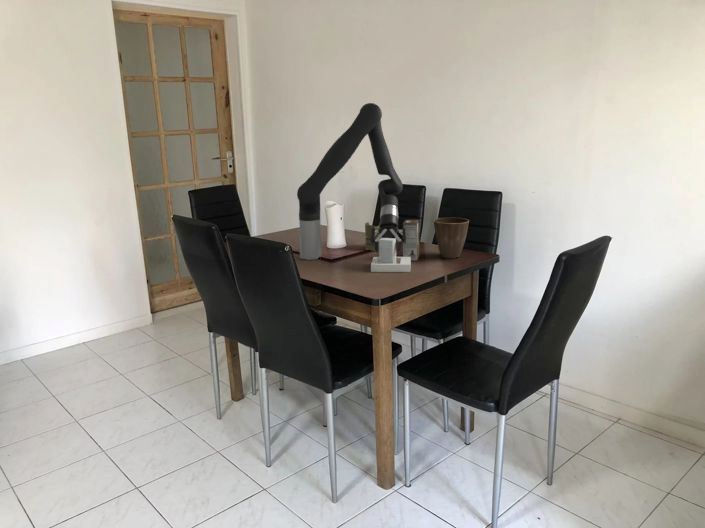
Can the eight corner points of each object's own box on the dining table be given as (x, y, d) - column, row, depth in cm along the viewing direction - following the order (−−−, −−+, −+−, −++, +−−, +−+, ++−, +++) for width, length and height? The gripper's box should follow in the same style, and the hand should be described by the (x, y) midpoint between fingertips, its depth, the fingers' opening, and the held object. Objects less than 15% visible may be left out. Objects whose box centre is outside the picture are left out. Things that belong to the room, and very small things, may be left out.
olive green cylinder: (362, 222, 263) (385, 220, 265) (362, 247, 266) (385, 245, 268) (368, 226, 252) (392, 224, 255) (369, 252, 255) (392, 250, 258)
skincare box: (396, 266, 228) (396, 238, 225) (393, 269, 224) (392, 240, 221) (382, 265, 231) (382, 237, 228) (379, 268, 227) (378, 239, 224)
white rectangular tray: (371, 271, 222) (370, 264, 221) (373, 263, 234) (373, 256, 234) (410, 272, 220) (410, 264, 219) (410, 263, 232) (410, 256, 232)
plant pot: (434, 252, 251) (434, 217, 247) (468, 252, 248) (469, 217, 244) (432, 260, 237) (432, 223, 233) (468, 261, 234) (468, 223, 230)
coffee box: (405, 255, 248) (404, 219, 244) (419, 255, 246) (419, 219, 242) (402, 260, 239) (402, 223, 235) (417, 260, 238) (417, 223, 234)
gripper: (371, 213, 230) (369, 246, 222) (406, 212, 228) (405, 246, 220) (372, 223, 236) (370, 256, 228) (406, 223, 235) (405, 256, 227)
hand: (387, 251), depth 224 cm, fingers open, 8 cm apart
